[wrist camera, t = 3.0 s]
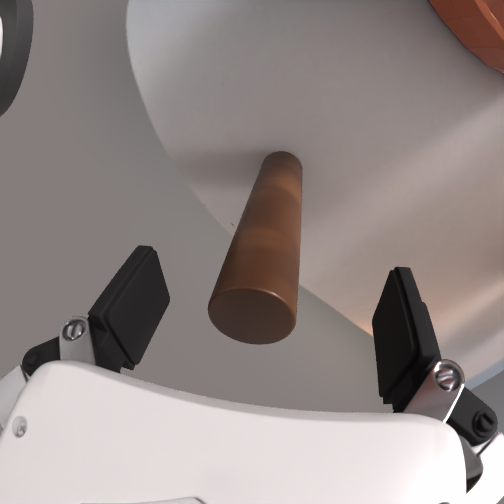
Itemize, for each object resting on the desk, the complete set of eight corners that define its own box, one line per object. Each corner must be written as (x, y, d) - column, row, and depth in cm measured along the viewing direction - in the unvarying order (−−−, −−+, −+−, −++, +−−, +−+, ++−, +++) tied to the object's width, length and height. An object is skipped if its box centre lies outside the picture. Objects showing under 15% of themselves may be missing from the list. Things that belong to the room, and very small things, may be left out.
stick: (262, 187, 21) (213, 339, 10) (261, 150, 20) (200, 283, 9) (301, 189, 21) (292, 348, 10) (302, 151, 19) (299, 291, 8)
